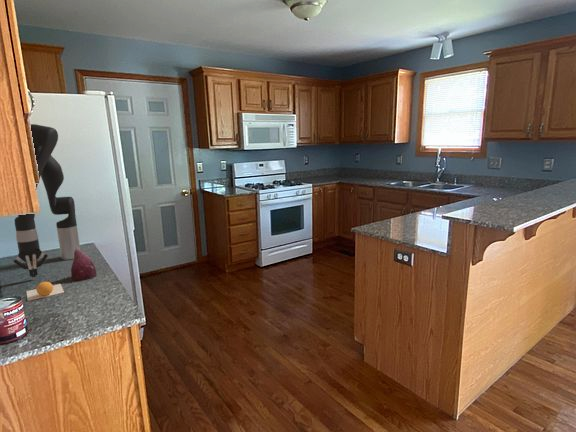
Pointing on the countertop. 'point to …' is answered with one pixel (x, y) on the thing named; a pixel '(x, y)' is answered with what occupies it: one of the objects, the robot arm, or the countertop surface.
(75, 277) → the vegetable
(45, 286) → the ball
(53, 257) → the countertop surface
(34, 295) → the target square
